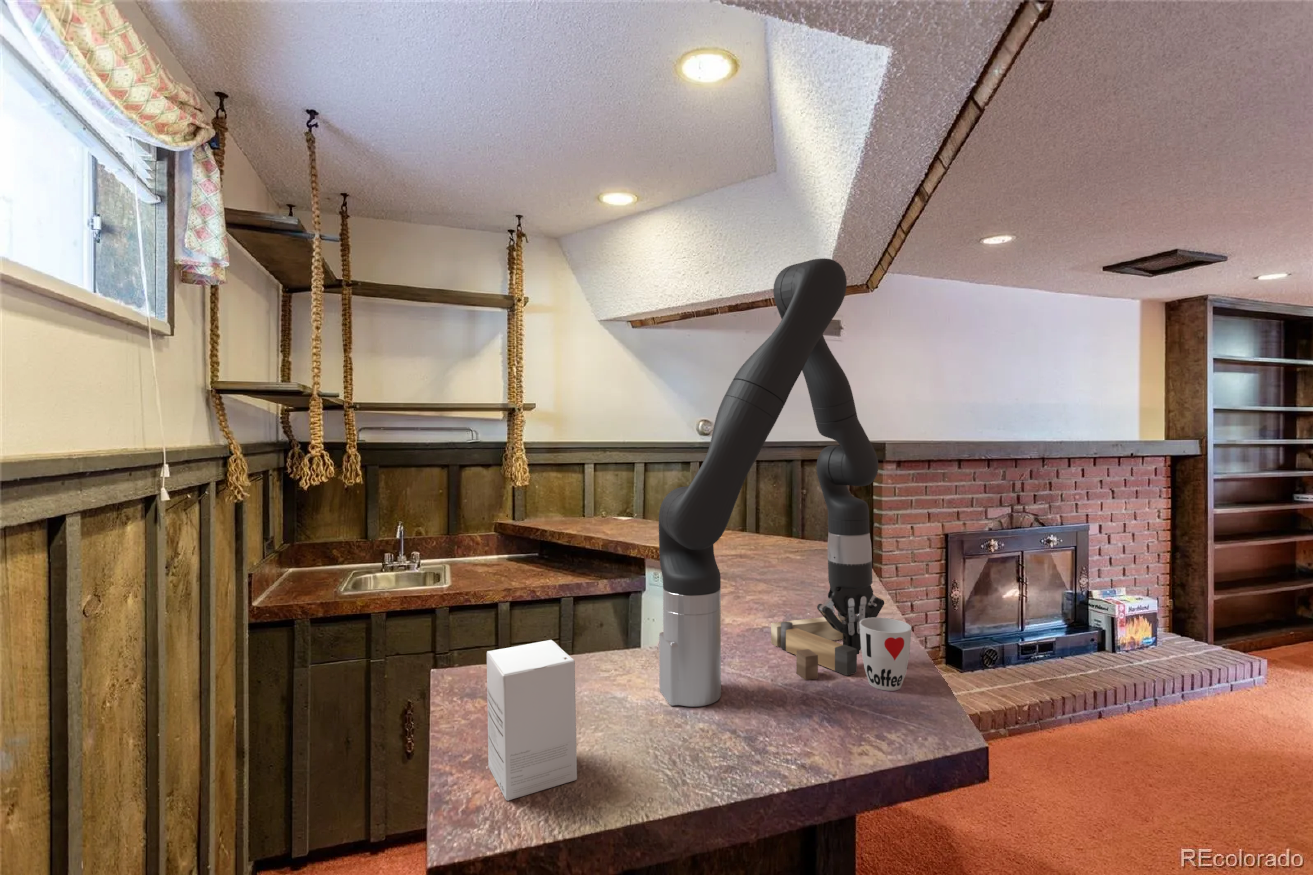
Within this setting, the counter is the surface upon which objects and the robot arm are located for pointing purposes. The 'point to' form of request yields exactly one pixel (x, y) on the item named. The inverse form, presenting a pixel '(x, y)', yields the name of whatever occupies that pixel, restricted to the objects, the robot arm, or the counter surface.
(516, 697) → the supplement box
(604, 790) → the counter surface
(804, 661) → the jointed wooden sticks
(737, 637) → the counter surface
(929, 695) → the counter surface
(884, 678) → the cup
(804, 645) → the leg
